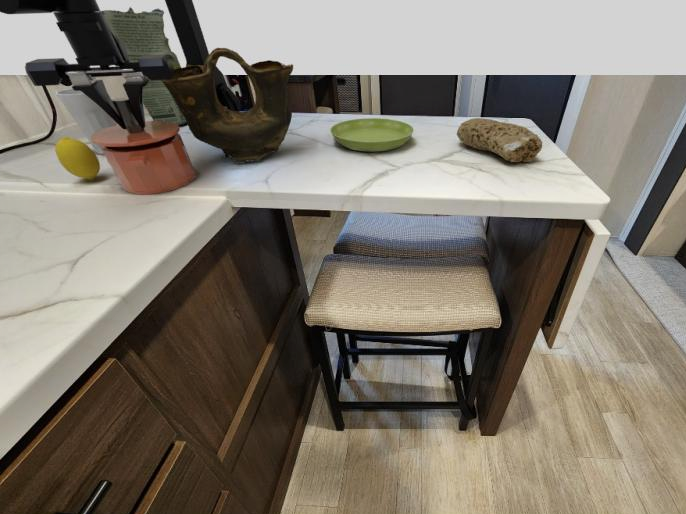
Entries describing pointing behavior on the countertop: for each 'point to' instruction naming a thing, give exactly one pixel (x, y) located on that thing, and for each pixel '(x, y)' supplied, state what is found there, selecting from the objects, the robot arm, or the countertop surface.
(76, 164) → the lemon
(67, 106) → the cup
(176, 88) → the pottery vessel
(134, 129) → the lid
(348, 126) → the saucer
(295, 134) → the countertop surface
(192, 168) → the pot
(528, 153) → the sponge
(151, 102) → the pouch
